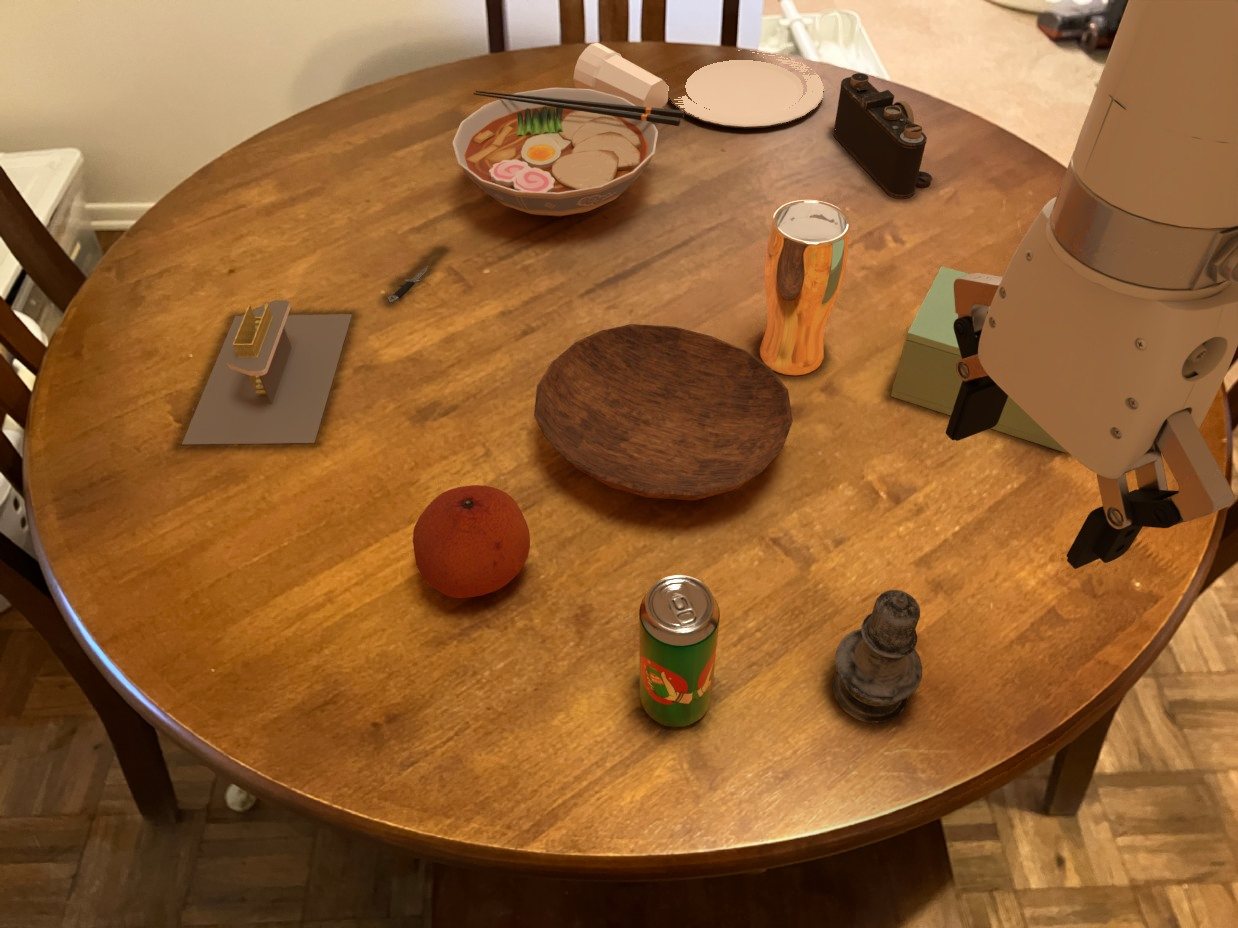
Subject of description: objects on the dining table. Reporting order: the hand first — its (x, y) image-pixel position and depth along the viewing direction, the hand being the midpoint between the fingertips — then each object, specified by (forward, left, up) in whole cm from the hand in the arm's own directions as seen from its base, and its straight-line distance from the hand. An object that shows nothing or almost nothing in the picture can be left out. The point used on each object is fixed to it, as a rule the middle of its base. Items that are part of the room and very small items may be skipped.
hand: (1028, 489), depth 52 cm
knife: (+62, -23, -23) cm, 70 cm away
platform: (+65, -4, -23) cm, 69 cm away
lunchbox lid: (+4, -33, -16) cm, 37 cm away
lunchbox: (+4, -33, -22) cm, 40 cm away
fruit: (+35, +6, -23) cm, 42 cm away
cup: (+54, -63, -20) cm, 85 cm away
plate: (+46, -75, -23) cm, 91 cm away
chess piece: (+4, +2, -23) cm, 23 cm away
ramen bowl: (+56, -43, -23) cm, 74 cm away
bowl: (+28, -13, -23) cm, 38 cm away
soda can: (+16, +9, -23) cm, 29 cm away
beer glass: (+22, -29, -23) cm, 43 cm away
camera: (+25, -67, -23) cm, 75 cm away
